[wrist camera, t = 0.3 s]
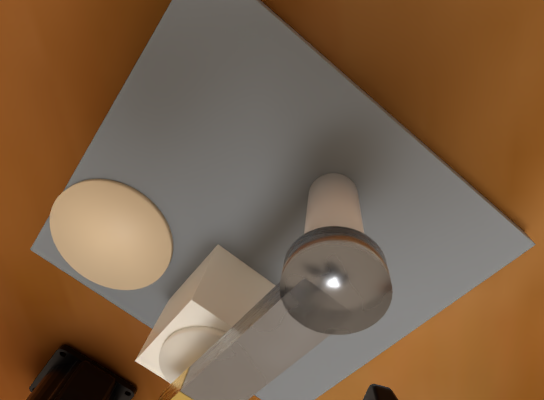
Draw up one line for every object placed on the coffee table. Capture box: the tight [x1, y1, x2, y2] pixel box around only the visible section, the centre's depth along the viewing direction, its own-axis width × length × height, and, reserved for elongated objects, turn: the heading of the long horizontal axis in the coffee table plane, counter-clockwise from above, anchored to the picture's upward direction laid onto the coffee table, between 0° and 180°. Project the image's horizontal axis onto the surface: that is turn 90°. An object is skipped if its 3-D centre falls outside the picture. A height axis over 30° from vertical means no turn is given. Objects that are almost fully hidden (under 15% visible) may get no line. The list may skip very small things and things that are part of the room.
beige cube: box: [135, 245, 275, 384], centre depth 21 cm, size 5×5×5 cm
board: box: [30, 0, 535, 400], centre depth 19 cm, size 19×20×7 cm
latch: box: [159, 226, 393, 400], centre depth 15 cm, size 12×4×1 cm, turn 142°
